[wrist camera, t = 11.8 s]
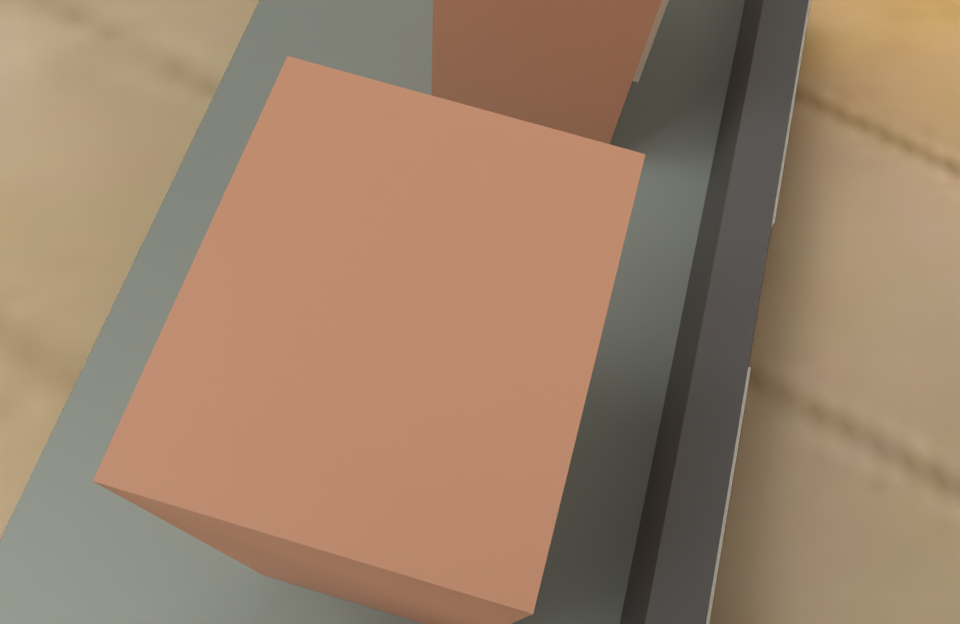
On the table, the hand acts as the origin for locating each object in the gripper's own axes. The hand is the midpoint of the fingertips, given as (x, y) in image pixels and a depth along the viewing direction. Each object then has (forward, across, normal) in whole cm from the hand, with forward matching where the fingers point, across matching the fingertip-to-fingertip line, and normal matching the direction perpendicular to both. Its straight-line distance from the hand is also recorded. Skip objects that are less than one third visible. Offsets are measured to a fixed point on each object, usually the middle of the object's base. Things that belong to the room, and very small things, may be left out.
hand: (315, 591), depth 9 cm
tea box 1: (+10, 0, +5) cm, 11 cm away
